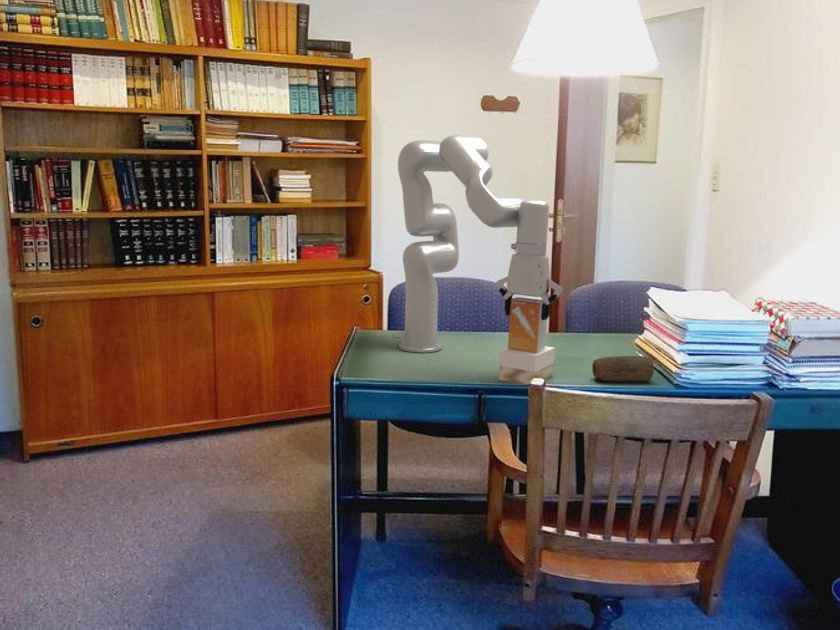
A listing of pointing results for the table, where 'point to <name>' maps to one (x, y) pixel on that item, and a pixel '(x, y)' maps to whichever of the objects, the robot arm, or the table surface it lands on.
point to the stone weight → (623, 368)
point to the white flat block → (526, 358)
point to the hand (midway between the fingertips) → (526, 316)
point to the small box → (527, 325)
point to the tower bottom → (523, 374)
